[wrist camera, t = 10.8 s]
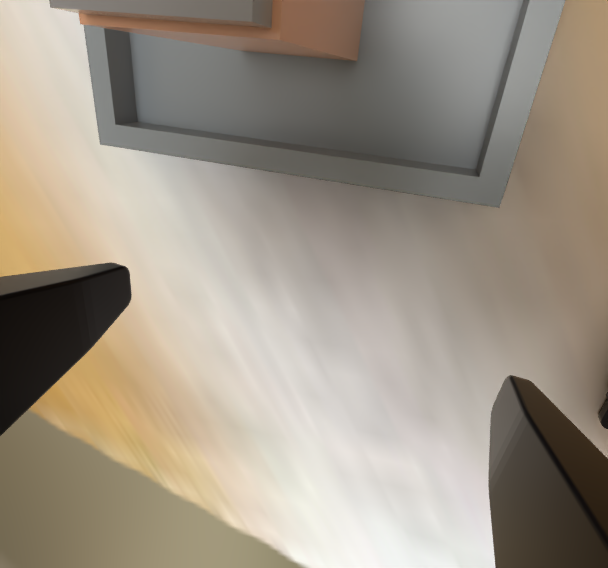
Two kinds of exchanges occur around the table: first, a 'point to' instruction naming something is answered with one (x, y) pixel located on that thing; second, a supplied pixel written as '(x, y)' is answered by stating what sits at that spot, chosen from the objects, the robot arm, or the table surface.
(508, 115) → the tray
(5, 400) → the robot arm
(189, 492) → the table surface
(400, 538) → the table surface
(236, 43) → the tall box
